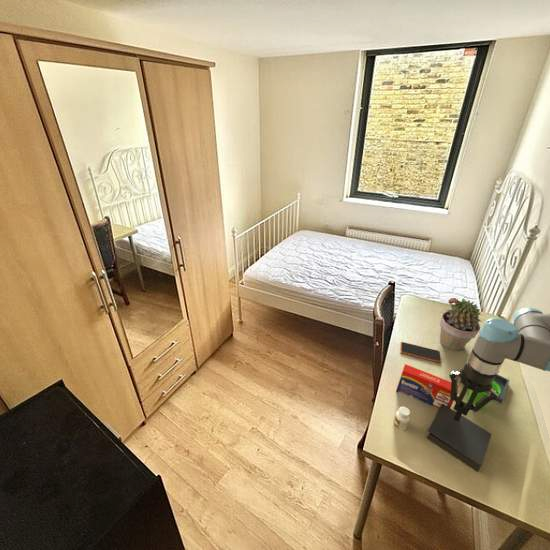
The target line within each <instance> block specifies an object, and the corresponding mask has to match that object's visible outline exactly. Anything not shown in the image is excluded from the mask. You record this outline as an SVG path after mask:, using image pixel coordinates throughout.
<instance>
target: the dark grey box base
mask: <svg viewBox="0 0 550 550" xmlns="http://www.w3.org/2000/svg"><path fill="white" fill-rule="evenodd" d="M426 439H427V440H429V441H430V442H431V443H433V444H434V445H436V446H438V447H439V448H441V449H442V450H443V451H444V452H446V453H448V454H449V455H451V456H452V457H454V458H455V459H457V460H459V461H460V462H462V463H463V464H464V465H466V466H468V467H469V468H470V469H472V470H473V471H475V472H476V473H477V472H479V470H480V469H481V467H480V466H478V465H477V464H475V463H474V462H472V461H471V460H469V459H468V458H466V457H465V456H464V455H462V454H461V453H459V452H458V451H456V450H455V449H453V448H452V447H450V446H449V445H448V444H446V443H445V442H443V441H442V440H440V439H439V438H437V437H436V436H434V435H433V434H432V433H430V432H429V433H428V435H427V437H426Z"/></svg>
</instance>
